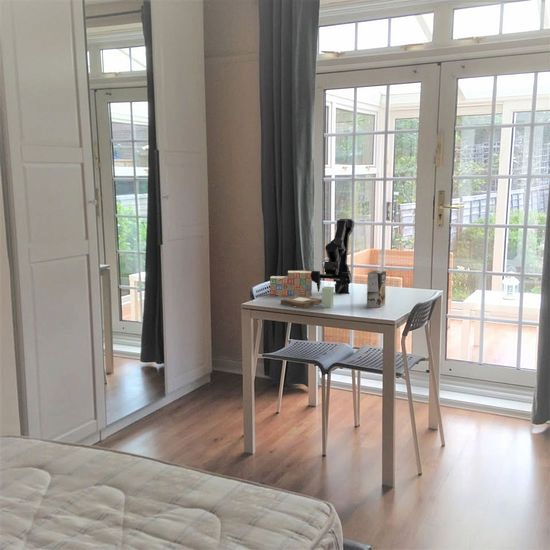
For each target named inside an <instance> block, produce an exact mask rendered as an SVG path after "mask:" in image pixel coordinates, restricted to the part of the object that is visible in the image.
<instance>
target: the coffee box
mask: <svg viewBox="0 0 550 550" xmlns="http://www.w3.org/2000/svg"><path fill="white" fill-rule="evenodd" d="M366 282H367V285H366V286H367V289H366V307H369V308H376V307H378V309H379V308H381V307H382V306H385V305H386V289H387V288H386V287H387V285H386V284H387V283H386V282H387V271H386V270H372V271H369V272H367V281H366ZM384 304H385V305H384Z"/></svg>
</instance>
